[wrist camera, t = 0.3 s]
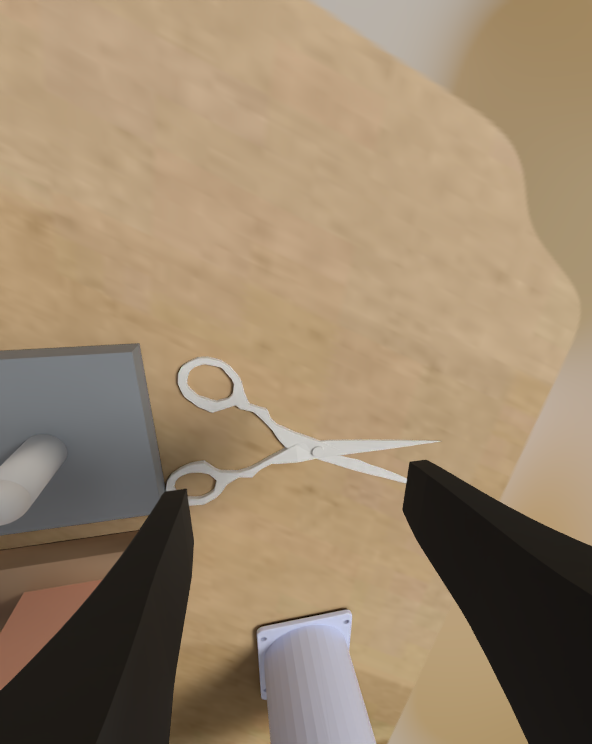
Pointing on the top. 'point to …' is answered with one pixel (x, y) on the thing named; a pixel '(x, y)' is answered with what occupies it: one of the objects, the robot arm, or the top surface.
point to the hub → (75, 437)
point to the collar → (37, 624)
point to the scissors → (294, 442)
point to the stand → (56, 566)
